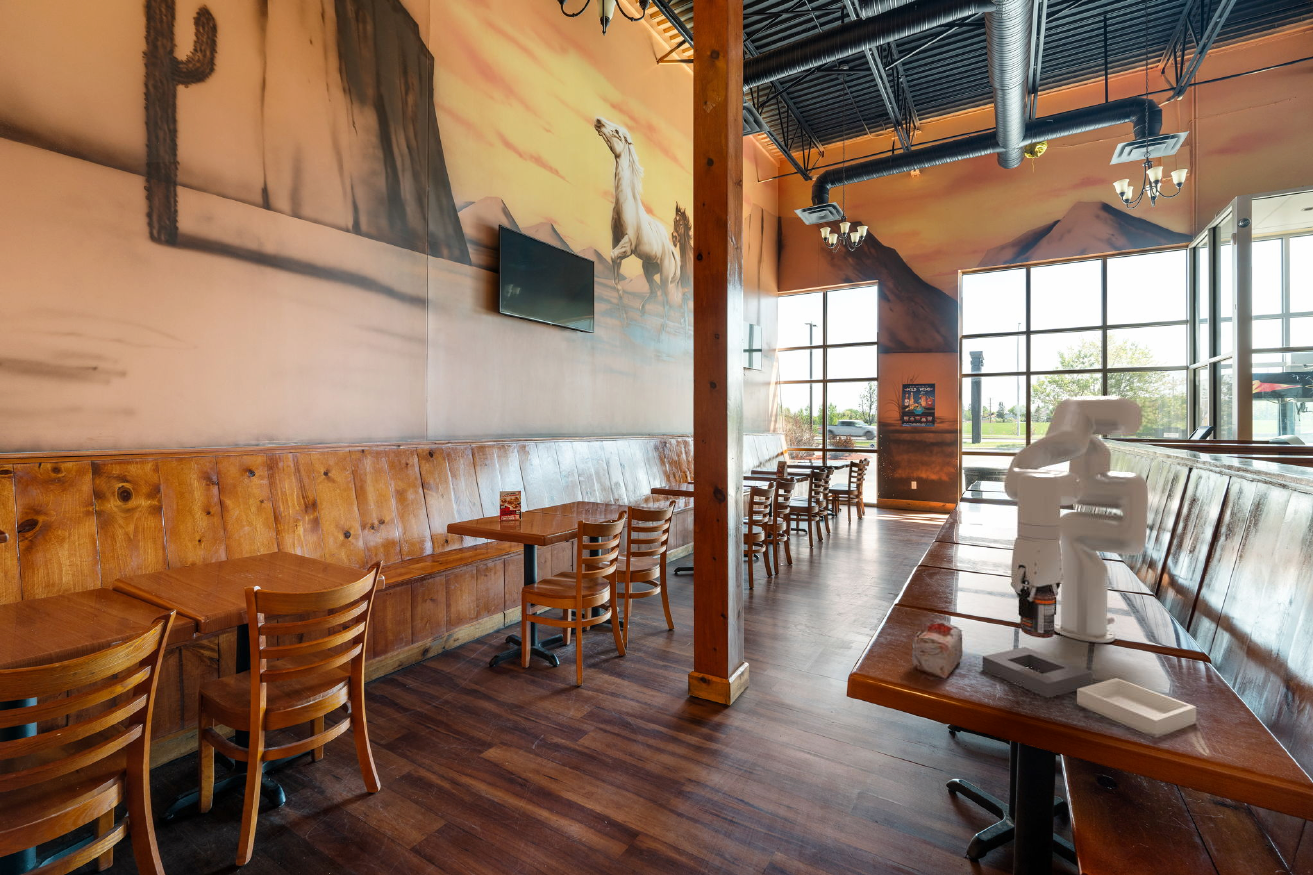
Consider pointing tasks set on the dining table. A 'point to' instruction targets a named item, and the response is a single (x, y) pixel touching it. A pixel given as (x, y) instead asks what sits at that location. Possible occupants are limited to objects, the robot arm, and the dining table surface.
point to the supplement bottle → (1041, 614)
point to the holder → (1049, 684)
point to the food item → (938, 649)
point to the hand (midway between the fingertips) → (1037, 614)
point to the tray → (1137, 707)
